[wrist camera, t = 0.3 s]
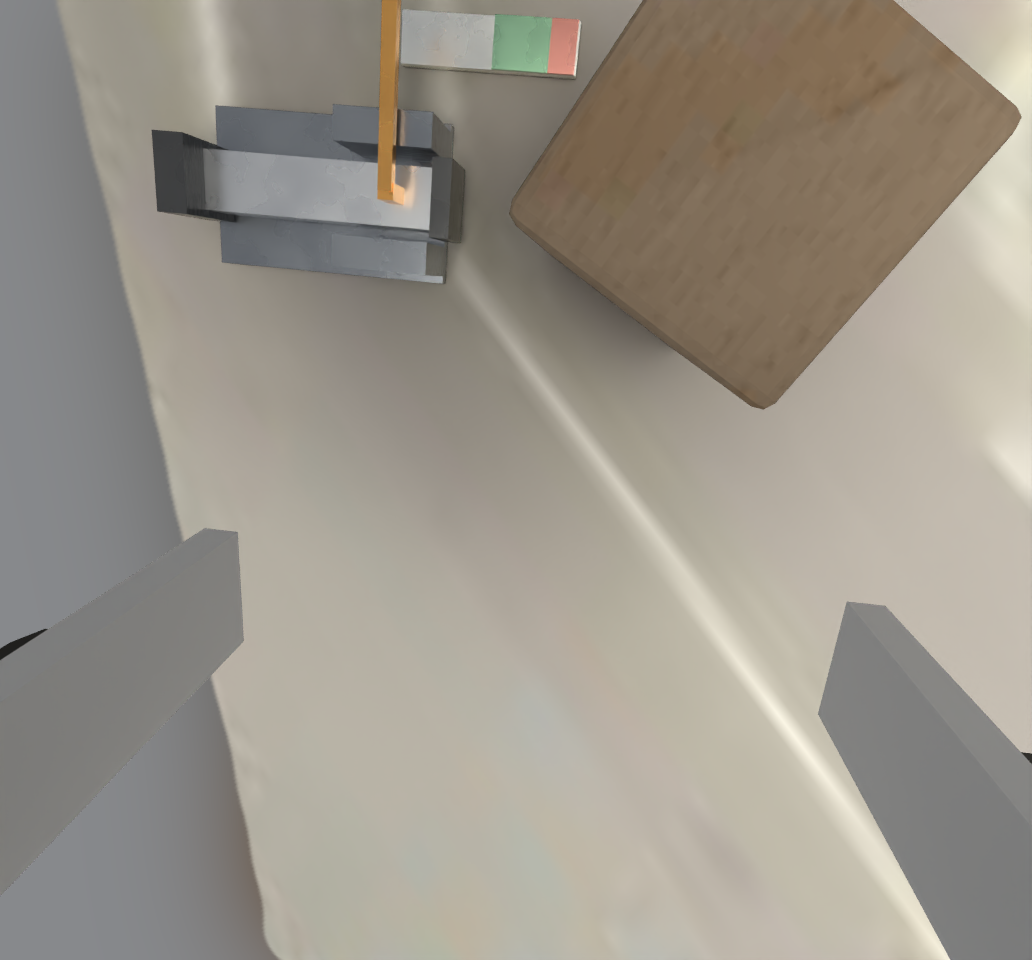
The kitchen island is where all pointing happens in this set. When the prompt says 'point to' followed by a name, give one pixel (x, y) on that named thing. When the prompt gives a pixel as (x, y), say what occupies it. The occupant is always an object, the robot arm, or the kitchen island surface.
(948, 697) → the robot arm
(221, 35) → the kitchen island surface
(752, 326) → the wooden block
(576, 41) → the gauge housing
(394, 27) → the gauge slider with pointer
